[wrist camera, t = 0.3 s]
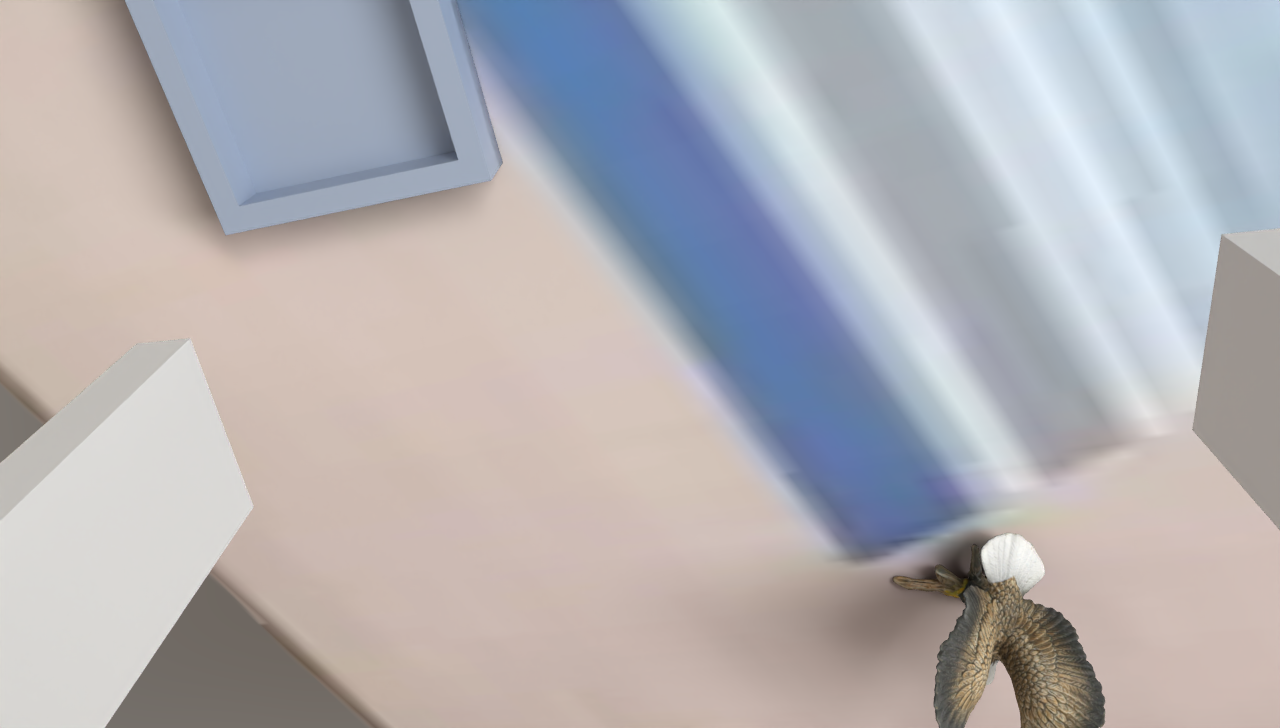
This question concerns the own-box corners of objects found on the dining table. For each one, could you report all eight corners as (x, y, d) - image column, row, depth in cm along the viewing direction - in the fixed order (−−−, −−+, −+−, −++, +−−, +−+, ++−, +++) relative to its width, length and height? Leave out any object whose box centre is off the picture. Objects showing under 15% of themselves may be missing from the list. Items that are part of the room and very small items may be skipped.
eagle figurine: (892, 639, 50) (930, 788, 42) (892, 525, 46) (933, 663, 38) (1047, 631, 49) (1116, 780, 41) (1057, 514, 46) (1135, 652, 38)
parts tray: (135, -66, 36) (98, -61, 34) (416, -139, 34) (397, -139, 32) (251, 215, 41) (225, 235, 39) (502, 162, 39) (491, 180, 37)
